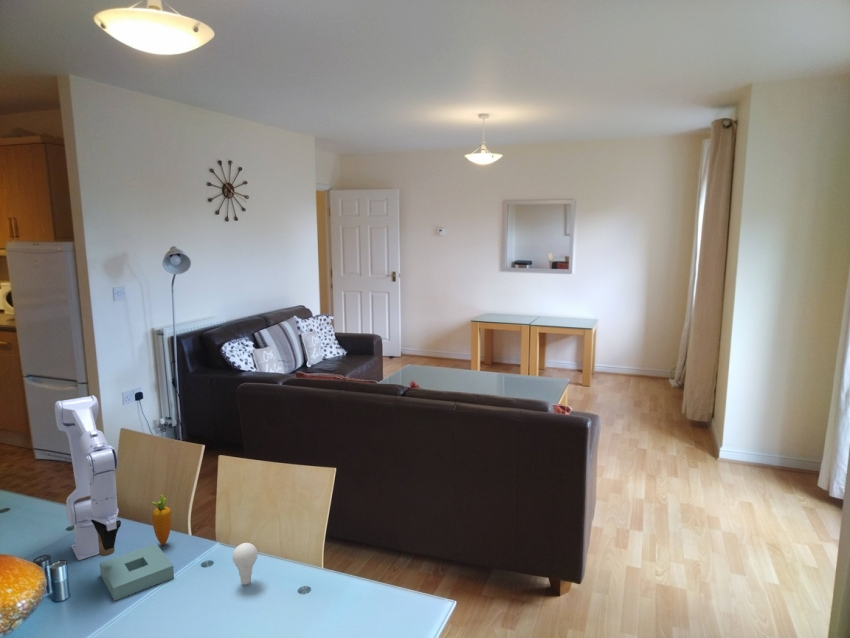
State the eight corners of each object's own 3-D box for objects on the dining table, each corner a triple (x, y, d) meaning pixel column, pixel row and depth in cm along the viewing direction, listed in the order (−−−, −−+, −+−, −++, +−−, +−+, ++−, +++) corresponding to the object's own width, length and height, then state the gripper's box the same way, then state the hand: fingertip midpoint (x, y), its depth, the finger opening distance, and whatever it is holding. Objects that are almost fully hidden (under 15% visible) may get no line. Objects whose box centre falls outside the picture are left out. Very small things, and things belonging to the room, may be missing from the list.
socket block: (100, 575, 142) (99, 562, 142) (156, 555, 152) (156, 543, 151) (114, 601, 132) (113, 587, 132) (173, 577, 142) (173, 565, 141)
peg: (98, 552, 140) (96, 526, 139) (113, 547, 142) (111, 522, 141) (100, 557, 137) (98, 532, 136) (115, 553, 140) (113, 527, 139)
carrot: (165, 551, 154) (162, 501, 152) (150, 548, 155) (147, 499, 153) (176, 541, 159) (174, 493, 157) (161, 539, 160) (159, 492, 158)
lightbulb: (263, 580, 141) (262, 541, 140) (246, 594, 136) (245, 553, 134) (245, 574, 144) (244, 535, 142) (228, 587, 138) (226, 547, 137)
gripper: (79, 490, 140) (83, 539, 142) (91, 511, 130) (95, 563, 132) (110, 483, 145) (113, 530, 147) (124, 502, 135) (127, 552, 136)
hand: (107, 545), depth 140 cm, fingers closed on peg, 3 cm apart
